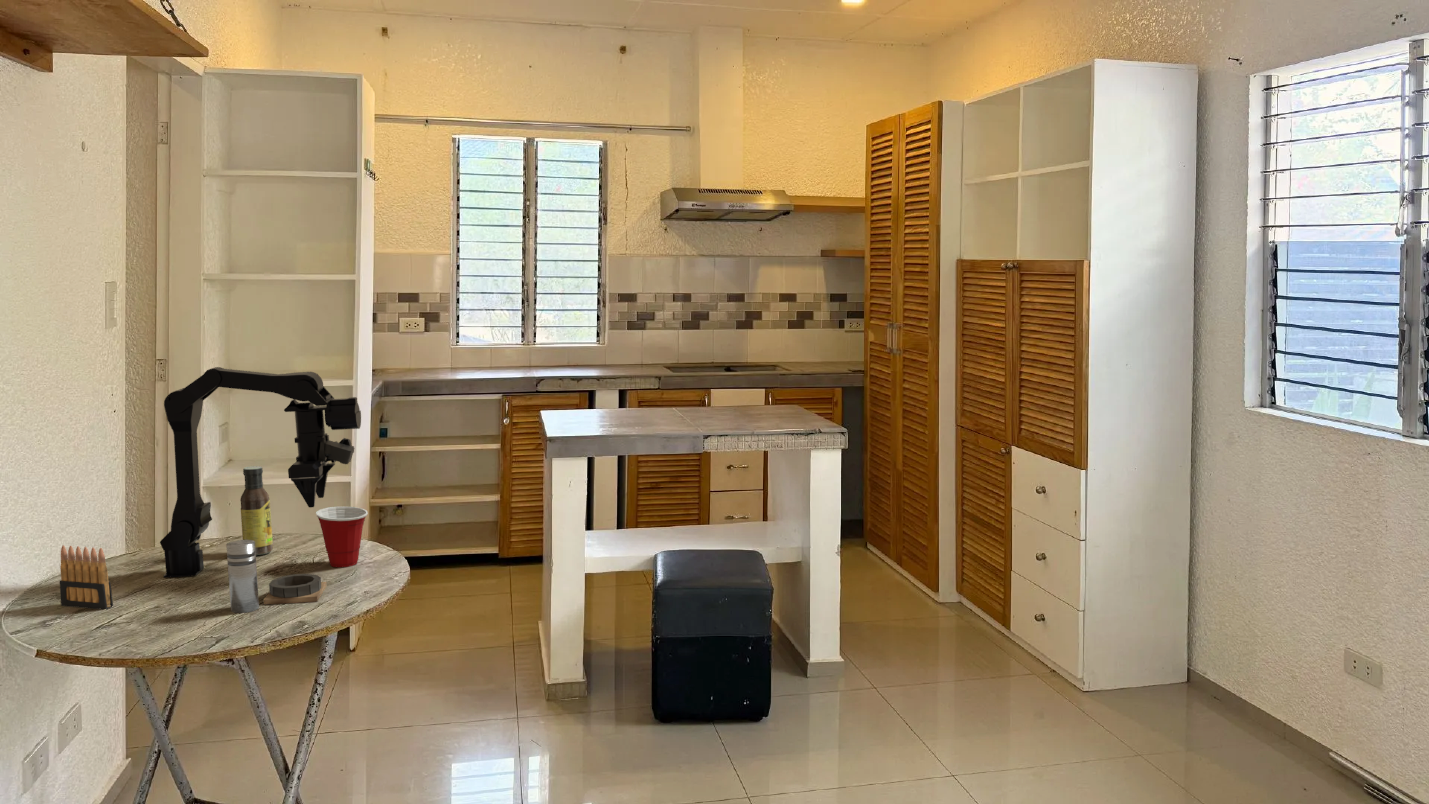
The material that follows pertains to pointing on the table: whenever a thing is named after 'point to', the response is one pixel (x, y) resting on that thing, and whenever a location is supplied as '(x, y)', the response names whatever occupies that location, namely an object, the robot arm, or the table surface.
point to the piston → (242, 576)
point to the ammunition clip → (84, 579)
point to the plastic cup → (342, 533)
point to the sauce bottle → (256, 511)
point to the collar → (295, 589)
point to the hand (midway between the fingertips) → (316, 502)
